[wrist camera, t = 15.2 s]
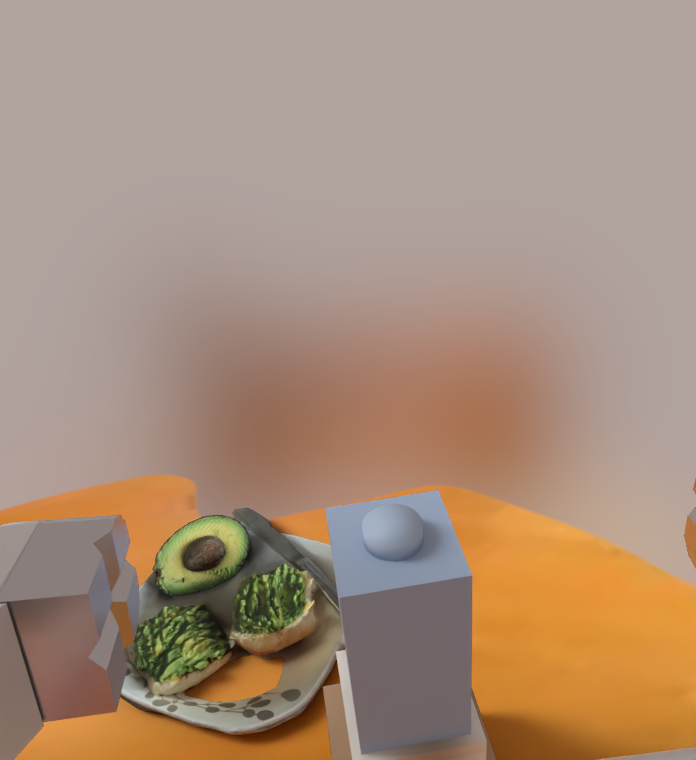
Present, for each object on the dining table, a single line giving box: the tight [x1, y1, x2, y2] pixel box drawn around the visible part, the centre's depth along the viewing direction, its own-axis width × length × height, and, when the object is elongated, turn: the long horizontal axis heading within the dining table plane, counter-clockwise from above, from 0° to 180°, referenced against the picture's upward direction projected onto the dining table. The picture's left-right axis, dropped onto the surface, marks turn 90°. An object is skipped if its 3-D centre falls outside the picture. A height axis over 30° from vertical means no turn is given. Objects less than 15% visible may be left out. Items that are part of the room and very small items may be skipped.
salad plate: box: [120, 508, 345, 735], centre depth 46 cm, size 19×18×5 cm
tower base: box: [323, 650, 497, 760], centre depth 34 cm, size 8×8×9 cm
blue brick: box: [325, 490, 472, 754], centre depth 29 cm, size 5×5×11 cm
